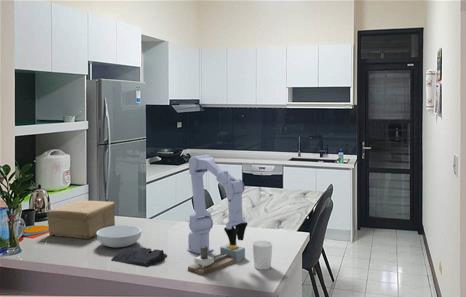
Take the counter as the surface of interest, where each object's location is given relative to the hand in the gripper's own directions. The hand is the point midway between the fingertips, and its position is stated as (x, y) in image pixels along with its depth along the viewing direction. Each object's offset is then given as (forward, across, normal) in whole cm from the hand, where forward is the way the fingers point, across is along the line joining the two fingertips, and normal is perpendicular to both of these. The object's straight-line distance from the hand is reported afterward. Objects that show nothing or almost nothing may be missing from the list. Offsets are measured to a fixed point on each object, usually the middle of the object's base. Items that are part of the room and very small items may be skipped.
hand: (236, 242), depth 194 cm
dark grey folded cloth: (+9, -7, +44) cm, 45 cm away
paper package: (+5, +16, +97) cm, 99 cm away
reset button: (+7, +10, +7) cm, 14 cm away
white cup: (+11, +4, -9) cm, 15 cm away
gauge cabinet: (+10, +10, +7) cm, 16 cm away
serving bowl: (+7, +5, +64) cm, 65 cm away
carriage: (+8, -7, +12) cm, 16 cm away
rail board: (+10, -3, +10) cm, 15 cm away
